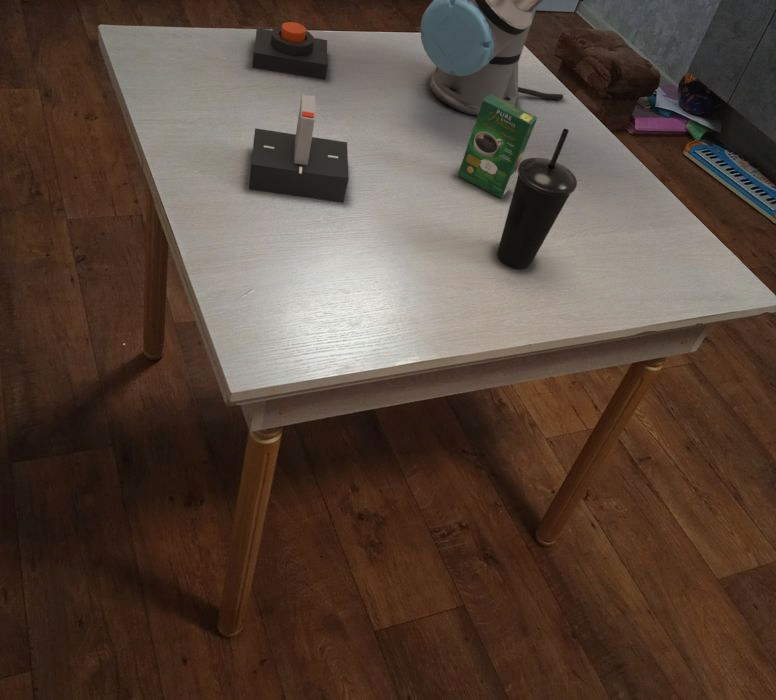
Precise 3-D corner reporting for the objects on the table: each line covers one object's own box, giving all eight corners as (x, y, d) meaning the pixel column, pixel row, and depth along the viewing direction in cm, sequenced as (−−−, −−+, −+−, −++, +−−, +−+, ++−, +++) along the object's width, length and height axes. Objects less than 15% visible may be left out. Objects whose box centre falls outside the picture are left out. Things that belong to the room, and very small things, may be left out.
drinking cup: (539, 283, 110) (596, 154, 96) (484, 266, 110) (533, 136, 96) (542, 250, 116) (597, 124, 102) (490, 234, 116) (537, 106, 102)
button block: (324, 54, 144) (328, 29, 140) (325, 79, 137) (329, 54, 134) (255, 42, 141) (257, 17, 138) (252, 67, 135) (254, 41, 132)
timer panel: (342, 163, 121) (347, 138, 118) (343, 205, 114) (348, 179, 111) (252, 150, 118) (255, 124, 115) (248, 191, 111) (251, 165, 108)
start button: (305, 34, 138) (306, 24, 137) (304, 45, 135) (306, 35, 134) (281, 30, 137) (282, 20, 136) (280, 41, 135) (281, 30, 133)
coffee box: (510, 193, 125) (539, 115, 115) (502, 200, 123) (531, 122, 113) (465, 169, 127) (489, 91, 117) (456, 176, 125) (480, 98, 116)
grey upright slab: (295, 139, 115) (301, 92, 110) (307, 141, 115) (315, 94, 110) (294, 163, 111) (301, 115, 106) (307, 165, 111) (315, 117, 106)
